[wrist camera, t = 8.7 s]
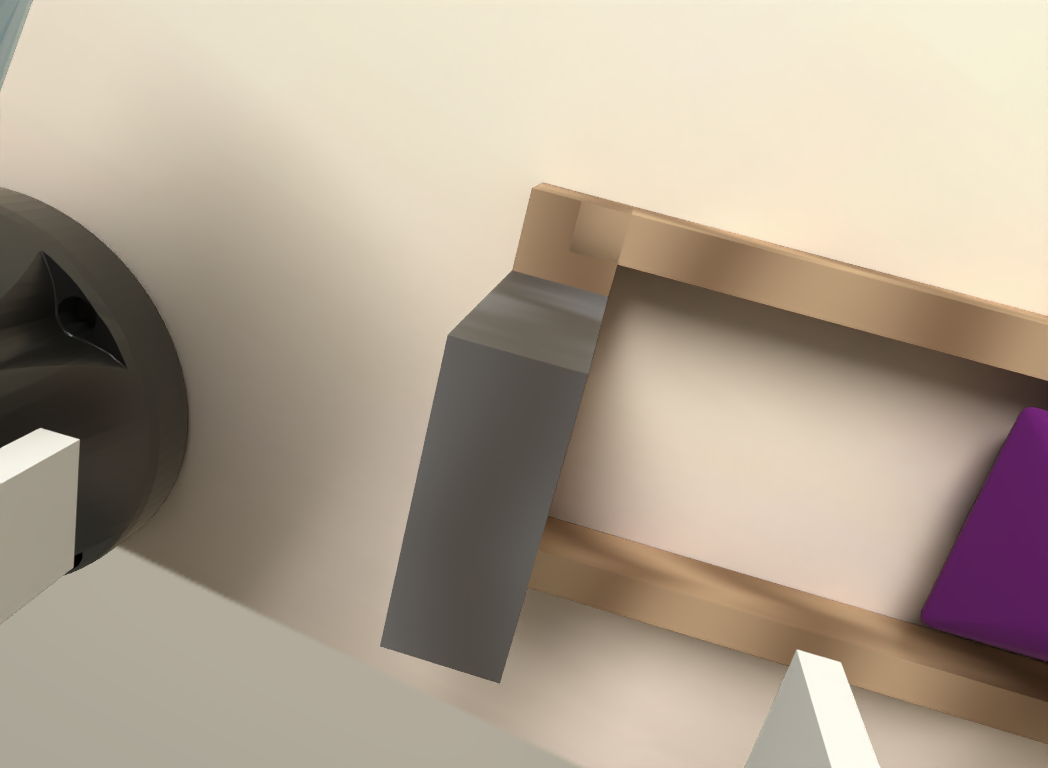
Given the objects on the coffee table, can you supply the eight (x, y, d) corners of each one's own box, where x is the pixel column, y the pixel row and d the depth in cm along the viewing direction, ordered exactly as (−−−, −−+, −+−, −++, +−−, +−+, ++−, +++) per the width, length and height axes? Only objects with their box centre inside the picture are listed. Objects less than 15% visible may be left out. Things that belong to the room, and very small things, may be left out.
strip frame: (459, 527, 30) (362, 726, 20) (543, 182, 25) (473, 215, 15) (1116, 723, 28) (1372, 1048, 18) (1327, 390, 24) (1815, 577, 14)
